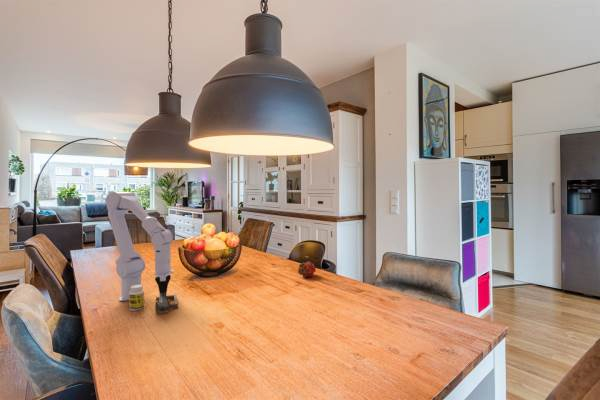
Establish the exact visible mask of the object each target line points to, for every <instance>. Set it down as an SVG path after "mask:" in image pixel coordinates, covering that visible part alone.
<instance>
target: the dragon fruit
mask: <svg viewBox="0 0 600 400" xmlns="http://www.w3.org/2000/svg"><path fill="white" fill-rule="evenodd" d="M314 264H315V263H312V262H311V261H305V262H302V263H300V264H298V266H299V267H298V271H297V272H298V273H299V275H301V276H302V277H303V278H305V277H307V278H308V277H309V278H313V277H314V274H315V272H316V270H317V269H316V266H315V265H314Z"/></svg>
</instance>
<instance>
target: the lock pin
mask: <svg viewBox="0 0 600 400" xmlns="http://www.w3.org/2000/svg"><path fill="white" fill-rule="evenodd" d="M166 296H167V293H166V292H165V293H160V292H159V296H158V297H159V301H158V309H159V310H160V311H164V310H166V309H167V307H168V300H166Z"/></svg>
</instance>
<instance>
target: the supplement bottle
mask: <svg viewBox="0 0 600 400" xmlns="http://www.w3.org/2000/svg"><path fill="white" fill-rule="evenodd" d="M130 291H131V292H130V293H129V300H128V302H129V305H128V309H129V310H130V311H133V312H134V311H140V310H143V309H144V308H145V302H144V301H145V300H144V297H145V295H144V294H145V292H144V290H143V285H142V284H141V285H134V286H131V287H130Z"/></svg>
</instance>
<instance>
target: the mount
mask: <svg viewBox="0 0 600 400" xmlns="http://www.w3.org/2000/svg"><path fill="white" fill-rule="evenodd" d="M172 300H173V303H171V301H172ZM166 301H167V303H168V307H167V309H166V310H164V311H160V310H159V309H158V304H159V296H156V297H155V302H154V303H155V309H154V310H155V314H156V315H157V314H164V313H170V312H171V310H174V309H178V308H179V305H178V304H179V303H178V295H177V294H170V295H166Z"/></svg>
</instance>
